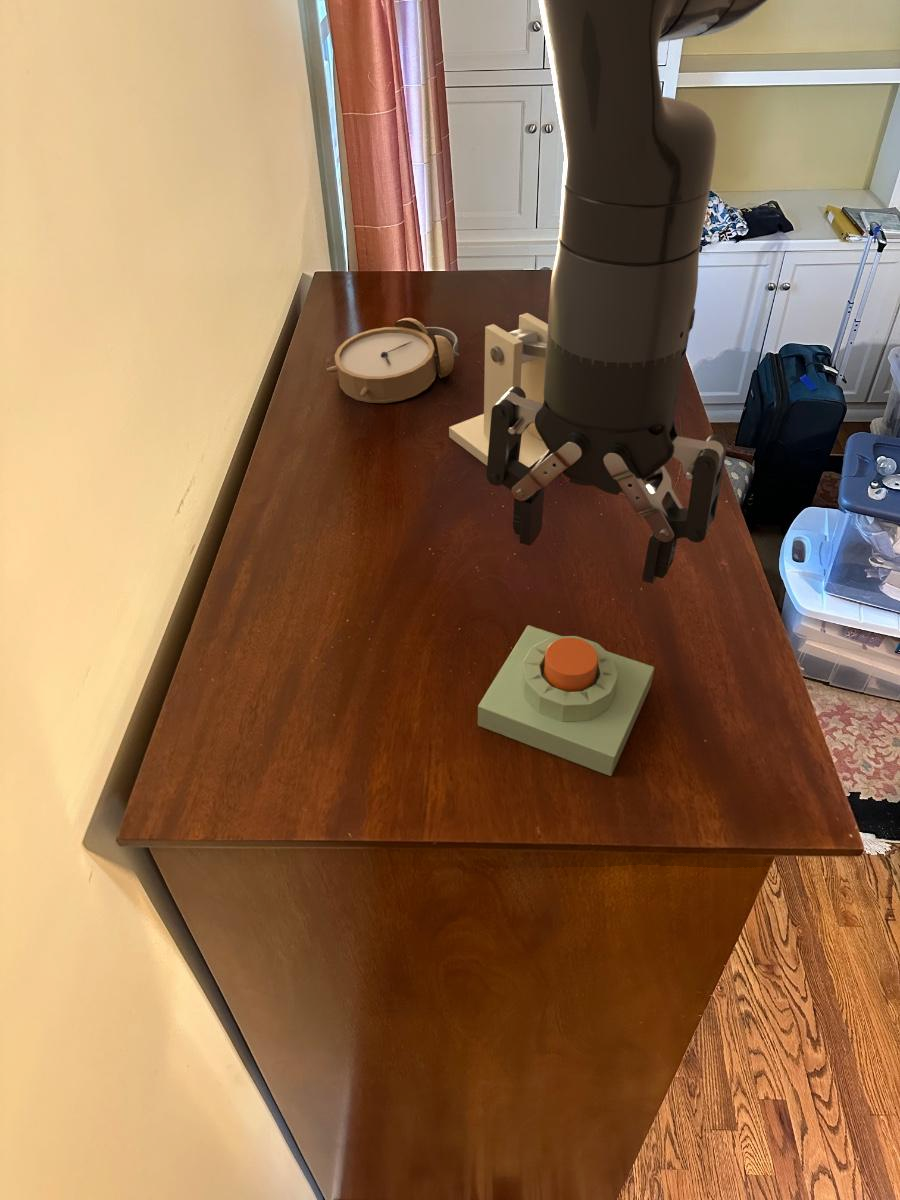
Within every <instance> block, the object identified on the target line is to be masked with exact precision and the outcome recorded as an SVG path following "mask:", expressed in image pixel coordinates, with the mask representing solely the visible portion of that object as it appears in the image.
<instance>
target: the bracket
mask: <svg viewBox="0 0 900 1200" xmlns="http://www.w3.org/2000/svg"><path fill="white" fill-rule="evenodd" d="M484 329H485V330H484V382H483V383H484V384H483V385H484V386H483V387H484V388H483V391H484V392H483V413H482V414H480V415H477V416H474V417H472V418H468V419H467V420H463V421H461V422H459V423H456V424H453V425H451V426H449V427H448V437H449V438H450V439H451V440H452V441H454V442H455V443H456V444H457V445H459V446H460V447H462V448H463V449H464V450H466V451H467V452H468V453H469V454H471V455H472V456H473V457H475V458H476V459H477V460H479V462H481V463H483V464H484V465H485V466H486V467H487V462H488V449H489V437H490V425H491V413H492V408H493V406H494V405H495V404H496V403H497V402H498V401H499V400H500V399H501V398H502V397H503V396H504V395H505V394H506V392H507V391H508V390H509V389H510V388H511V387H514V386H516V387H520V388H521V389H522V390H523V391H524V392H525V395H526V399H529V400H533V401H536V402H539V403H543V402H544V379H545V363H546V358H541V357H539V358H536V359H533V360H531V361H528V362H525V363H522V348H523V341H521V340H519V339H518V338H516V337H514V336H513V335H511V334H509V331H506V330H505V329H503V328H501V327H499V326H498V325H496V324H494V323H492V324H489V325H486V326H485V327H484ZM518 329H521V330H528V331H535V332H537V337H538V342H543V343H547V332H548V323H546V322H544V321H543V320H541V319H539V318H537V317H536V316H534V315H532V314H530V313H528V312H526V313H525V312H524V313H523V314H520V315H519V316H518ZM547 450H548V448H547V447H546V445H545V443H544V442H543V440H542V438H541V437H540V435H539V433H538V431H537V430H536V427H535V423H530V425H529V426H528V427H527V429H526V430H525V431H524V432H523V433H522V436H521V445H520V454H519V462H521V463H522V464H524V465H526V466H527V467H529V466H531V465H532V464H533V463H534V462H535V461H536V460H538V459H539V458H540V457H541V456H542V455H543V454H544V453H545V452H546V451H547Z"/></svg>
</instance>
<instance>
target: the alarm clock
mask: <svg viewBox="0 0 900 1200" xmlns="http://www.w3.org/2000/svg"><path fill="white" fill-rule="evenodd" d="M429 336H433V340H432V339H431V338H430V337H429ZM449 340H450V341H452V342H453V343H454V344H453V345H452V343H451V342H450V341H449ZM458 349H459V341H458V336H457V335H456V333H454V332H453V331H452V330H450V329H447V328H445V327H441V326H440V327H439V326H427V327H426V326H425V325H424V324H423V323H422V322H421V321H419V320H417V319H414V318H412V317H404V318H402V319H399V320H397V321H396V322H395V324H393V326H385V327H379V328H372V329H369V330H366V331H362V332H360V333H357V334H355V335H353V336H351V337H350V338H347V339H345V341H344V342H342V344H340V345H339V346H338V347H337V350H336V351H335V353H334V361H335V365H333V366H329V367H327V368H326V372H327V373H336V372H337V375H338V381H339V387H340V389H341V390H342V391H343V393H344V394H345V395H346V396H348V397H350V398H352V399H354V400H356V401H360V402H364V403H369V404H389V403H394V402H395V403H396V402H402V401H404V400H408V399H410V398H413V397H415V396H418V395H419V394H421V393H423V392H424V391H426V390H428V388H429V387H430V386H432V384H433V383H434V382H435V380H436V376H437V373H438V376H439V378H440V379H442V378H446V377H447V376H449V375H450V373H451V372H452V371H453V368H454V365H455V360H456V358H459V355H460V354H459V352H457V351H458Z"/></svg>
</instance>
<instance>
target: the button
mask: <svg viewBox="0 0 900 1200" xmlns="http://www.w3.org/2000/svg"><path fill="white" fill-rule="evenodd" d="M597 663H598V655H597V652H596V650H595V649H594V648H593V647H592V646H591V645H590V644H589V643H587V642H586V641H584V640H581V639H577V638H562V639H558V640H556V641H554V642H553V643H551V644H550V645H549V647H548V648H547V650H546V654H545V665H544V674H545V677H546V679H547V681H548V682H549V683H550V684H551V685H552V686H554V687H555V688H557V689H560V690H563V691H567V692H577V691H581V690H584V689H586V688H588V687H589V686H590V685H591V684H592V683H593V682H594V680H595V676H596V670H597Z"/></svg>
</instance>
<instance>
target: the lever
mask: <svg viewBox="0 0 900 1200" xmlns="http://www.w3.org/2000/svg"><path fill="white" fill-rule="evenodd" d="M508 333H509V334H511V335H513V336H514V337H516V338H518V339H519V340H521V341H523V348H522V363H525V362H528V361H531V360H533V359H536V358H539V357H541V358H546V347H547V343H543V342H538V337H537V332H535V331H528V330H521V329H519V328H517V329H514V330H512V331H508Z"/></svg>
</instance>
